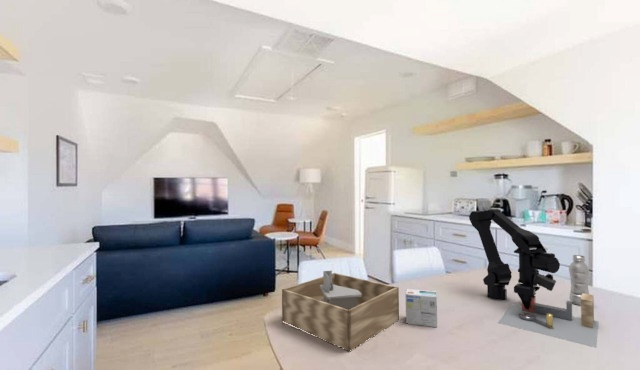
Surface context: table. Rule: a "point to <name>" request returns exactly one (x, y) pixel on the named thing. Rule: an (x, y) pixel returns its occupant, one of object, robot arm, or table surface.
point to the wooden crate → (341, 310)
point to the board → (561, 327)
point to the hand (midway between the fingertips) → (528, 307)
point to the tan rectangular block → (587, 310)
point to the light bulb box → (421, 307)
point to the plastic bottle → (578, 279)
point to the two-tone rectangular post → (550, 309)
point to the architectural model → (338, 293)
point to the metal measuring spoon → (532, 318)
